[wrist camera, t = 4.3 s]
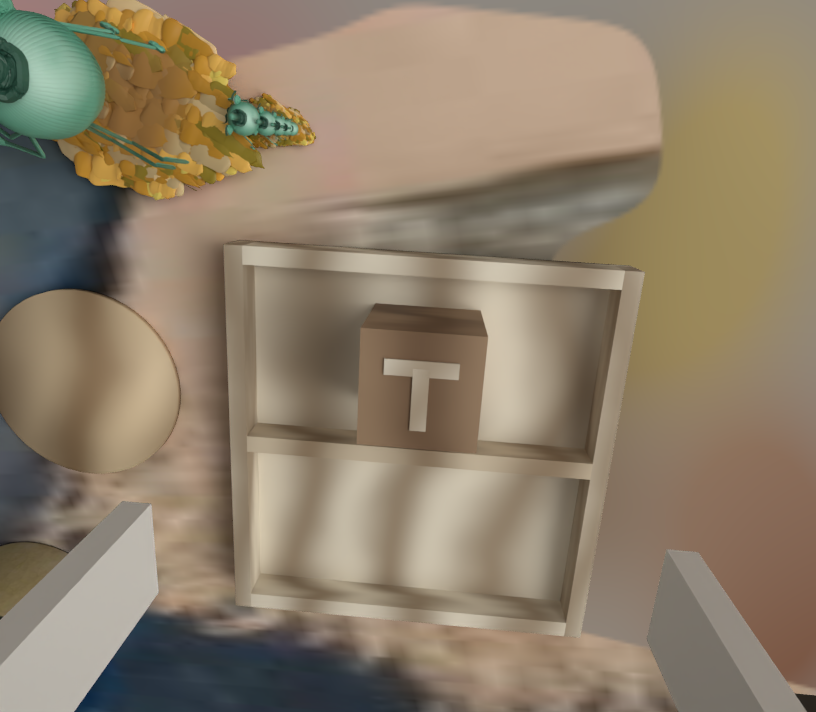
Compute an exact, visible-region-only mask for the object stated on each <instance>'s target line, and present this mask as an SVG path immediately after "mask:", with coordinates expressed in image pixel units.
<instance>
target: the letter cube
mask: <svg viewBox="0 0 816 712" xmlns="http://www.w3.org/2000/svg"><path fill="white" fill-rule="evenodd" d="M487 344H488V335H487V331H486V328H485V324H484V321H483V317H482V314H481V310H466V309H452V308H438V307H423V306H409V305H395V304H380V303H375V305H374V307H373V308H372V310H371V311H370V313H369V315H368V316H367V318H366V320H365V321H364V323H363V325H362V326H361V329H360V358H359V386H358V415H357V444H363V445H375V446H387V447H400V448H412V449H425V450H437V451H449V452H462V453H474V454H476V452H477V442H478V433H479V423H480V413H481V403H482V393H483V383H484V373H485V364H486V354H487Z"/></svg>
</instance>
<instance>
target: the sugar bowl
mask: <svg viewBox="0 0 816 712" xmlns="http://www.w3.org/2000/svg"><path fill="white" fill-rule="evenodd" d="M67 555H68V553H66V552H64V551H62V550H59V549H57V548H54V547H52V546H48V545H44V544H39V543H31V542H18V543H11V544H7V545H3V546H0V616H5V615H6V614H7V613H8V612H9V611H10V610H11V609H12V608H13V607H14V606H15V605H16V604H17V603H18V602H19V601H20V600H21V599H22V598H23V597H24V596H25V595H26V594H27V593H28V592H29V591H30V590H31V589H32V588H34V587H35V586H36V585H37V584H38V583H39V582H40V581H41V580H42V579H43V578H44V577H45V576H46V575H47V574H48V573H49V572H50V571H51V570H52V569H53V568H54V567H55V566H56V565H57V564H58V563H59V562H60V561H61V560H62V559H63V558H64V557H65V556H67Z"/></svg>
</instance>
